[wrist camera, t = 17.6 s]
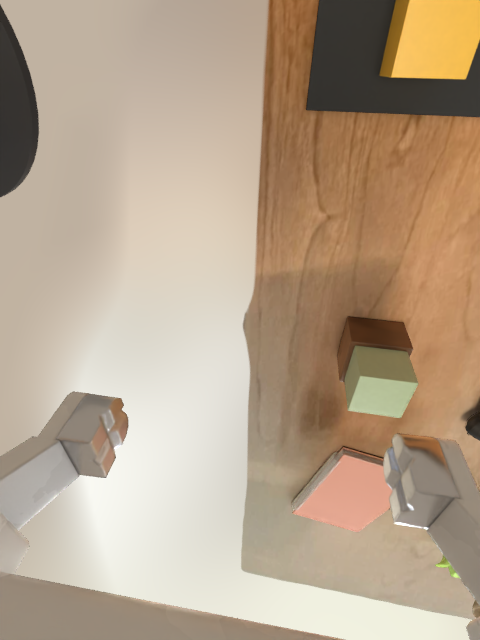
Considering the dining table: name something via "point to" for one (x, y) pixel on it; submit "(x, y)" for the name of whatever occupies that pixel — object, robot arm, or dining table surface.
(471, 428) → the toy figure
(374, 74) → the mat
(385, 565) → the dining table surface
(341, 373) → the base block
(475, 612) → the bowl
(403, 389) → the middle block
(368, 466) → the notebook
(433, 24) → the top block
